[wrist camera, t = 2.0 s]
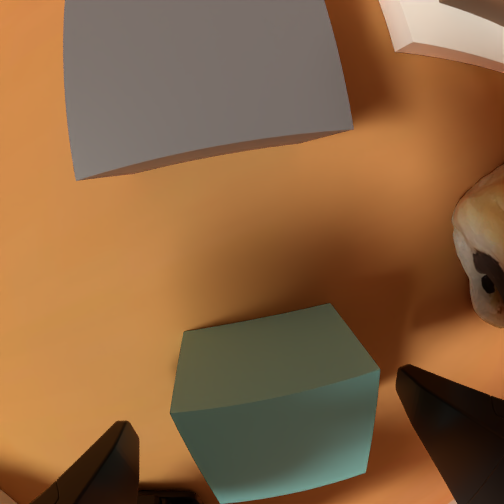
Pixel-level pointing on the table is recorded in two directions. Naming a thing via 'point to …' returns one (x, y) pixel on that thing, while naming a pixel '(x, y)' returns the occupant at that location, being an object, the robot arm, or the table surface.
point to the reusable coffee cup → (5, 499)
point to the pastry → (483, 244)
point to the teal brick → (276, 403)
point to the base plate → (444, 32)
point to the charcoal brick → (196, 80)
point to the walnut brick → (480, 8)
